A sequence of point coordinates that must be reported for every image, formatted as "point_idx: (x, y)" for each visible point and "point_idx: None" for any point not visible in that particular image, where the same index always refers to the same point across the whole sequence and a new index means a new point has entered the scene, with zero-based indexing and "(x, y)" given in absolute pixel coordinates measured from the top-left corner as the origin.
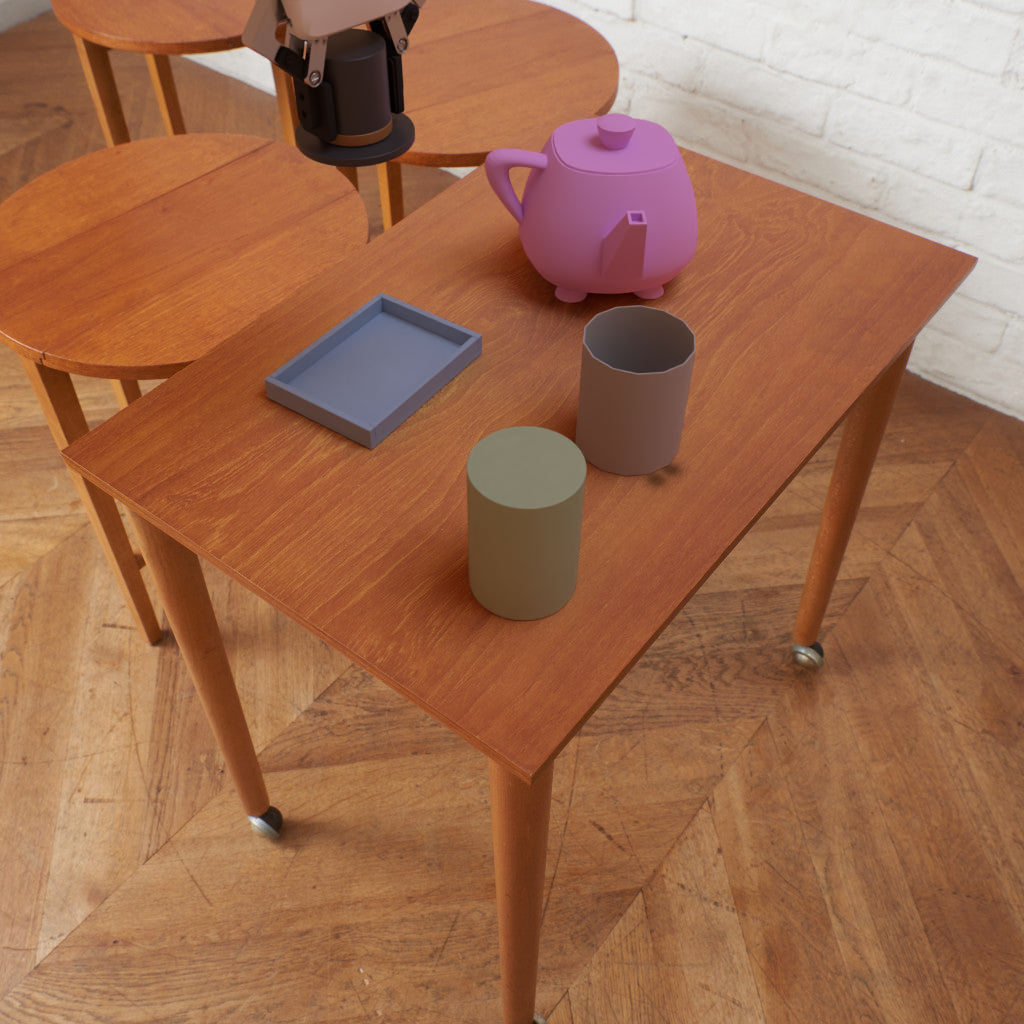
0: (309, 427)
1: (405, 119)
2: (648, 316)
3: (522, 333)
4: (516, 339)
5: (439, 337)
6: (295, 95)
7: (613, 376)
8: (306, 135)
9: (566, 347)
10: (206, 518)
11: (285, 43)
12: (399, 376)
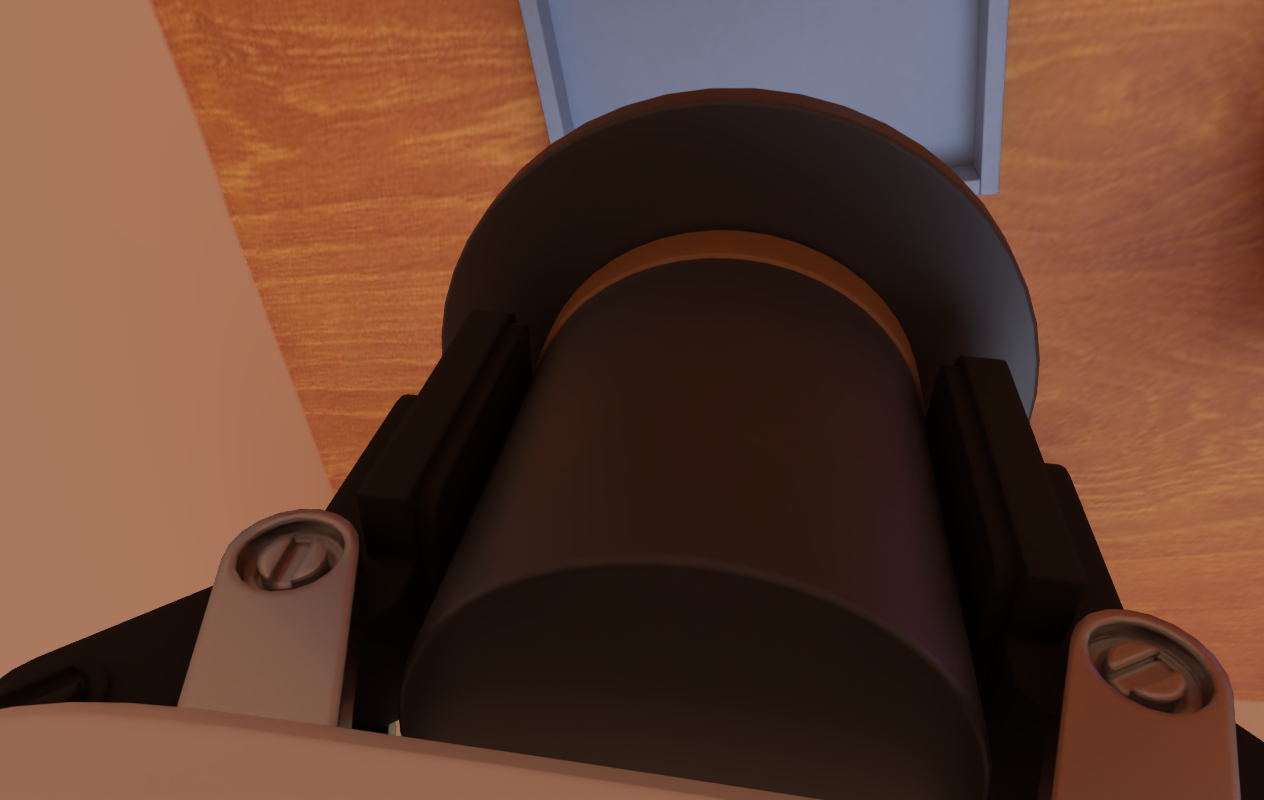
0: (528, 66)
1: None
2: None
3: (1119, 192)
4: (1087, 197)
5: (969, 64)
6: (350, 475)
7: None
8: (518, 270)
9: (1120, 299)
10: (242, 122)
11: (188, 684)
12: None
